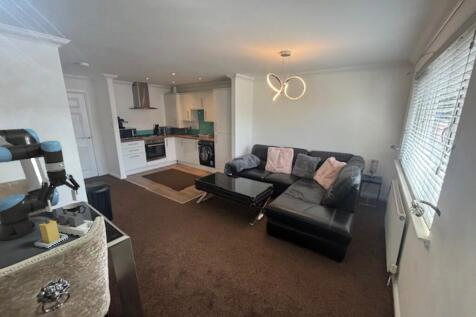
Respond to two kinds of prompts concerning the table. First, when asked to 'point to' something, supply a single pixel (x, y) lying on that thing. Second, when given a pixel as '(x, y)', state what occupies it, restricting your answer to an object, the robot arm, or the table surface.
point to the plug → (49, 231)
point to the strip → (77, 230)
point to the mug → (73, 208)
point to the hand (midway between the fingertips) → (63, 205)
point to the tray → (41, 244)
